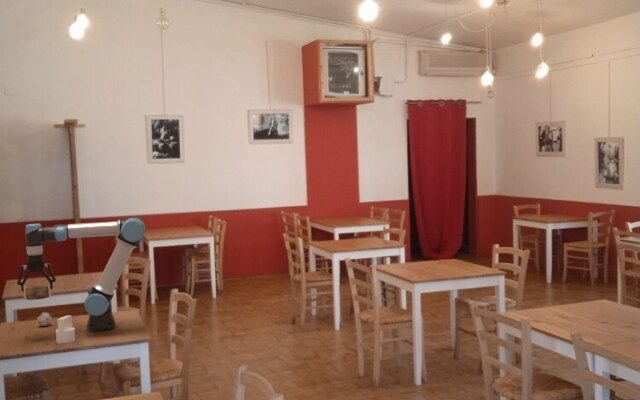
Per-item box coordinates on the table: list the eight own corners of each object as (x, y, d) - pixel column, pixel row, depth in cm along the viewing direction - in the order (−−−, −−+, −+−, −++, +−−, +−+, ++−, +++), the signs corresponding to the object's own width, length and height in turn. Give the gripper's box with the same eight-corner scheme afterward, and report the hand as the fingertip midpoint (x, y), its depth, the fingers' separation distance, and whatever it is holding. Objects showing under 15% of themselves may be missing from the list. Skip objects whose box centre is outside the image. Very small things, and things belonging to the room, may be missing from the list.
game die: (49, 332, 376) (59, 317, 377) (38, 330, 369) (49, 315, 369) (39, 323, 380) (50, 308, 381) (29, 321, 372) (40, 305, 373)
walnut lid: (50, 294, 351) (49, 285, 351) (48, 298, 341) (47, 288, 341) (27, 296, 348) (26, 287, 348) (24, 300, 338) (24, 290, 337)
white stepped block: (62, 338, 345) (60, 315, 344) (78, 338, 344) (77, 315, 343) (52, 343, 336) (51, 319, 335) (69, 343, 335) (68, 319, 334)
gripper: (60, 251, 350) (62, 293, 352) (11, 255, 344) (13, 297, 345) (58, 253, 343) (61, 295, 344) (8, 256, 336) (11, 300, 338)
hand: (37, 296), depth 345 cm, fingers closed on walnut lid, 11 cm apart
